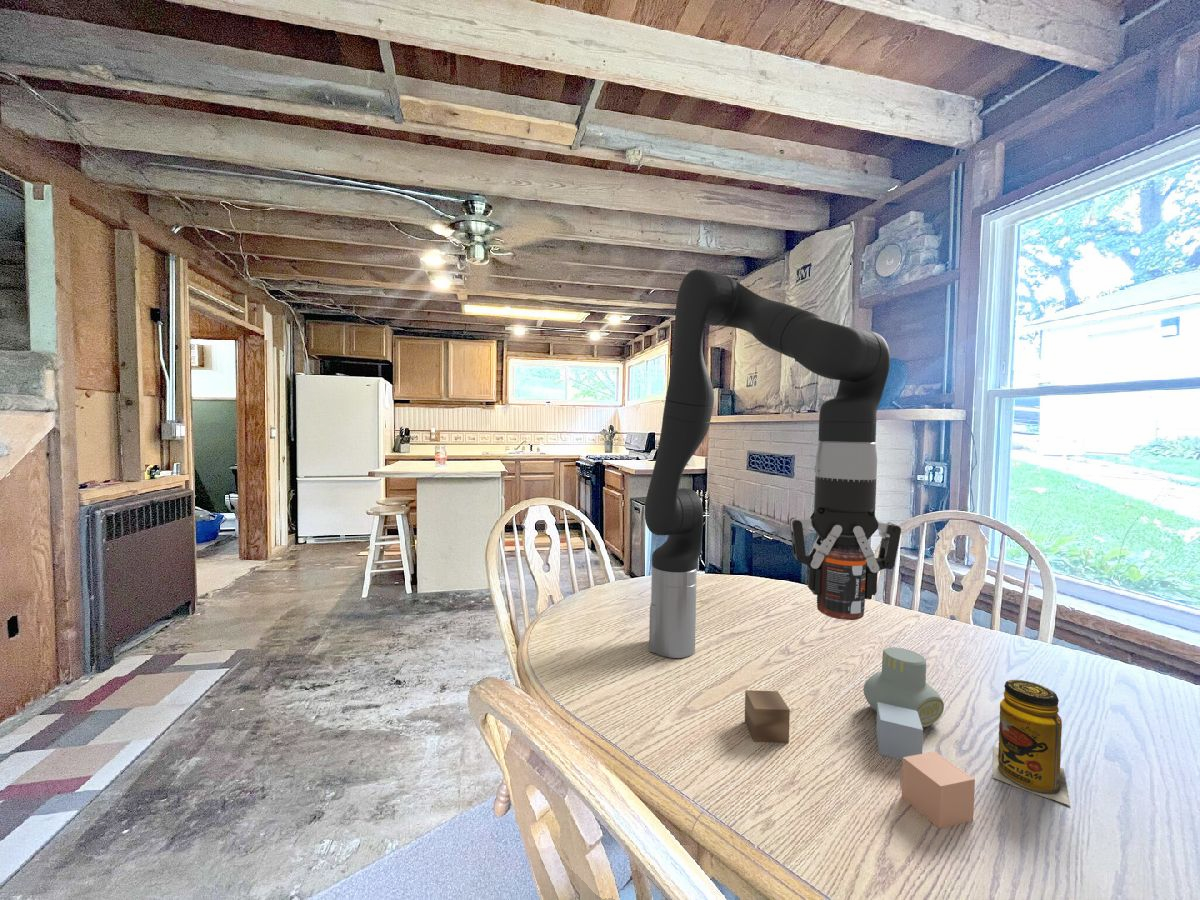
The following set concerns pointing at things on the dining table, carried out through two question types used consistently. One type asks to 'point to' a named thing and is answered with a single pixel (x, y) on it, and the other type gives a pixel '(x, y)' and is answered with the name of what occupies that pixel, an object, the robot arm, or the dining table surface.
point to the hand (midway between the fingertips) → (840, 594)
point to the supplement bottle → (843, 580)
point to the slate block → (898, 731)
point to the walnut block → (767, 716)
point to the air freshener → (904, 685)
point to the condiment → (1030, 741)
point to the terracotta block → (938, 789)
